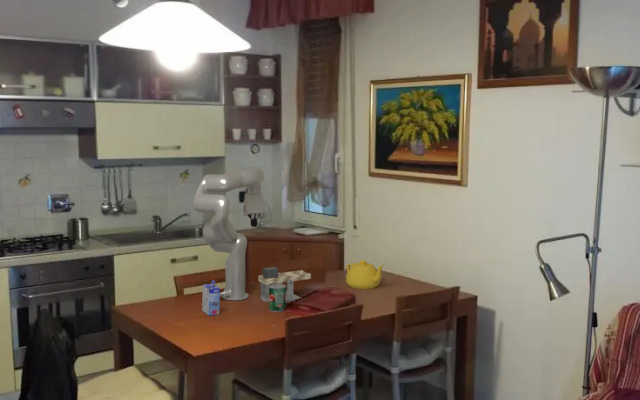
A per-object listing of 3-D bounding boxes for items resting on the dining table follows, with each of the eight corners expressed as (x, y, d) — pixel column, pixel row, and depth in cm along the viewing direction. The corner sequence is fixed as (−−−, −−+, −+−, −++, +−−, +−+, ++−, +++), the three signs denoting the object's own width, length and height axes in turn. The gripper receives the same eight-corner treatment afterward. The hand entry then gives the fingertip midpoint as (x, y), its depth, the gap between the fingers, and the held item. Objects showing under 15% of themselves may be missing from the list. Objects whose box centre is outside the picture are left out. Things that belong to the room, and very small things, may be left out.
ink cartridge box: (220, 314, 290) (220, 282, 288) (208, 316, 287) (208, 284, 286) (213, 309, 298) (213, 278, 297) (201, 310, 296) (201, 279, 294)
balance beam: (265, 284, 309) (265, 279, 309) (258, 280, 317) (258, 275, 316) (310, 278, 320) (310, 273, 320) (302, 275, 328) (302, 270, 328)
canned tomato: (289, 309, 299) (289, 285, 298) (277, 312, 293) (277, 289, 292) (277, 306, 304) (277, 283, 303) (265, 309, 299) (265, 286, 298)
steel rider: (266, 280, 310) (266, 270, 310) (262, 278, 315) (262, 268, 314) (278, 279, 313) (278, 268, 313) (273, 277, 318) (273, 267, 317)
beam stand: (270, 304, 307) (270, 283, 306) (256, 296, 321) (256, 276, 320) (301, 300, 315) (301, 280, 314) (286, 292, 329) (286, 273, 328)
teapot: (393, 287, 343) (394, 261, 341) (373, 293, 330) (374, 266, 328) (356, 279, 359) (356, 255, 358) (335, 285, 346) (335, 259, 344)
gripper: (242, 192, 327) (242, 228, 330) (269, 191, 334) (270, 226, 336) (237, 191, 334) (237, 226, 336) (264, 189, 341) (264, 224, 343)
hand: (253, 226), depth 336 cm, fingers closed
